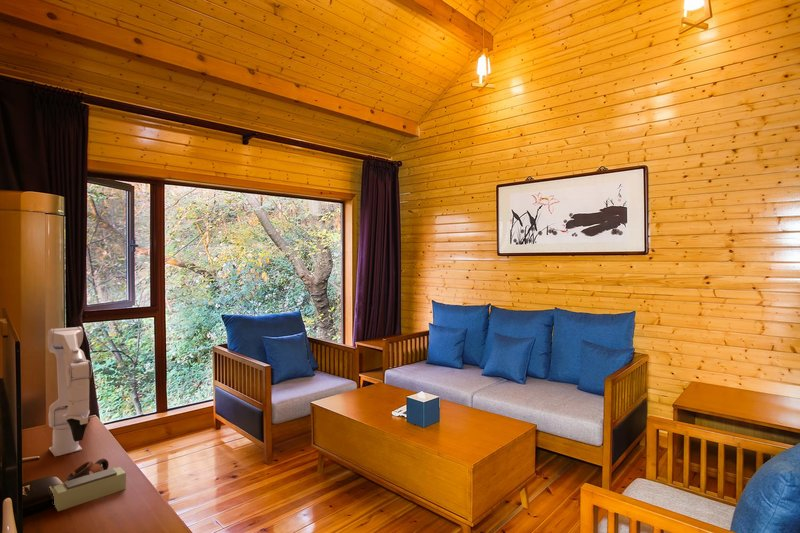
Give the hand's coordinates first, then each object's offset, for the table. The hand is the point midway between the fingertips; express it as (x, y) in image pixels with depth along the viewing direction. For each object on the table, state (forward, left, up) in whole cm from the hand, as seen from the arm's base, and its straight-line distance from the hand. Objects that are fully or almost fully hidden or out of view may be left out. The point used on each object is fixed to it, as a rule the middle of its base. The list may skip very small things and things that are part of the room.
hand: (78, 440), depth 146 cm
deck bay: (+19, -2, -10) cm, 21 cm away
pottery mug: (+14, 0, -10) cm, 17 cm away
